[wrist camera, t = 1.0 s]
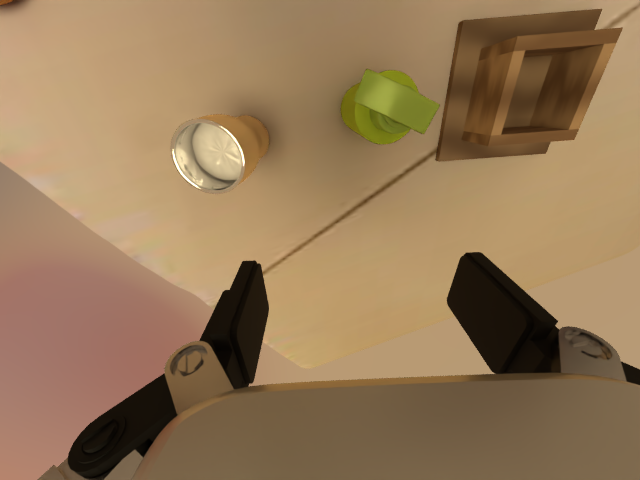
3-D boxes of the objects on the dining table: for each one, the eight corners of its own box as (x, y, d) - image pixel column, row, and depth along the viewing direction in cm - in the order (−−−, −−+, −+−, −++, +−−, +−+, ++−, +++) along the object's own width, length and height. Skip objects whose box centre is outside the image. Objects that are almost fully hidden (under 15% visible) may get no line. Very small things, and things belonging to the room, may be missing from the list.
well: (458, 23, 28) (498, 0, 22) (593, 11, 28) (670, -15, 22) (435, 160, 36) (459, 170, 30) (540, 152, 36) (586, 161, 30)
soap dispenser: (344, 71, 31) (384, 26, 13) (390, 94, 32) (482, 81, 15) (327, 118, 33) (341, 132, 16) (370, 138, 35) (427, 170, 17)
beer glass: (222, 107, 32) (160, 109, 19) (273, 116, 33) (247, 122, 20) (225, 159, 36) (174, 191, 23) (271, 166, 36) (247, 200, 23)
